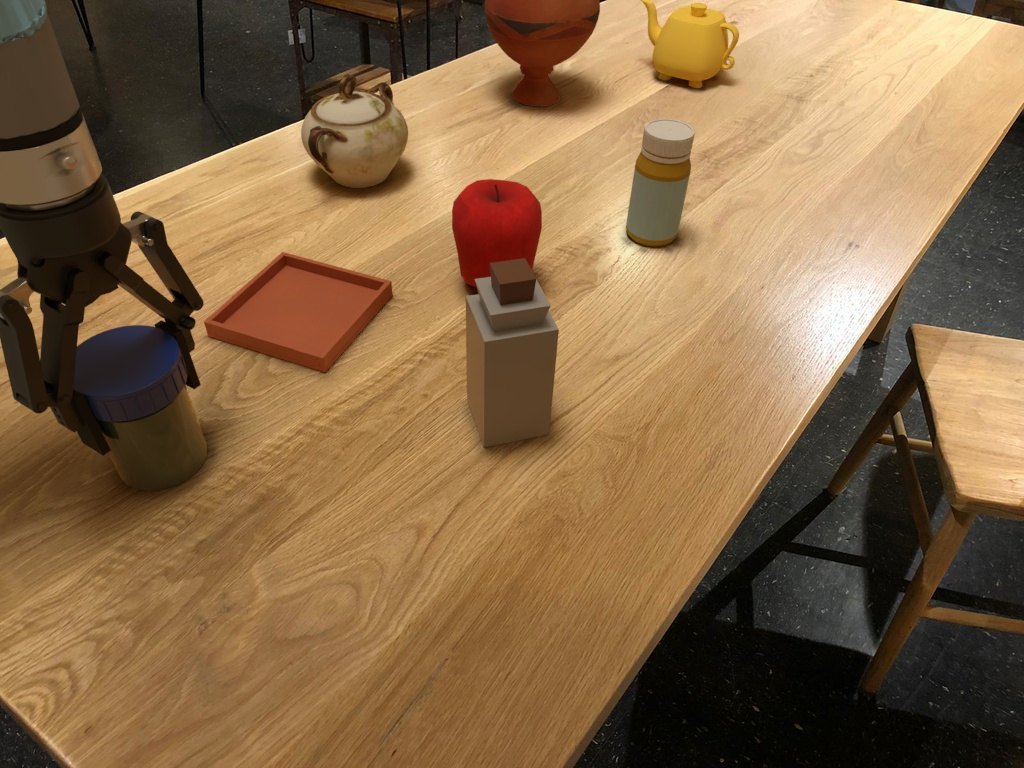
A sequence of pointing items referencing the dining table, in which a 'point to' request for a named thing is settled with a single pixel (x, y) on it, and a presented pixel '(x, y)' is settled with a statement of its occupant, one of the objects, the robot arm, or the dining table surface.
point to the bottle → (660, 182)
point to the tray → (300, 311)
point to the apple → (495, 226)
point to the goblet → (540, 39)
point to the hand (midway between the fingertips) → (144, 412)
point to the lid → (129, 372)
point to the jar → (157, 446)
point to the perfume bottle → (510, 355)
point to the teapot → (691, 43)
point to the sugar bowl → (355, 134)
